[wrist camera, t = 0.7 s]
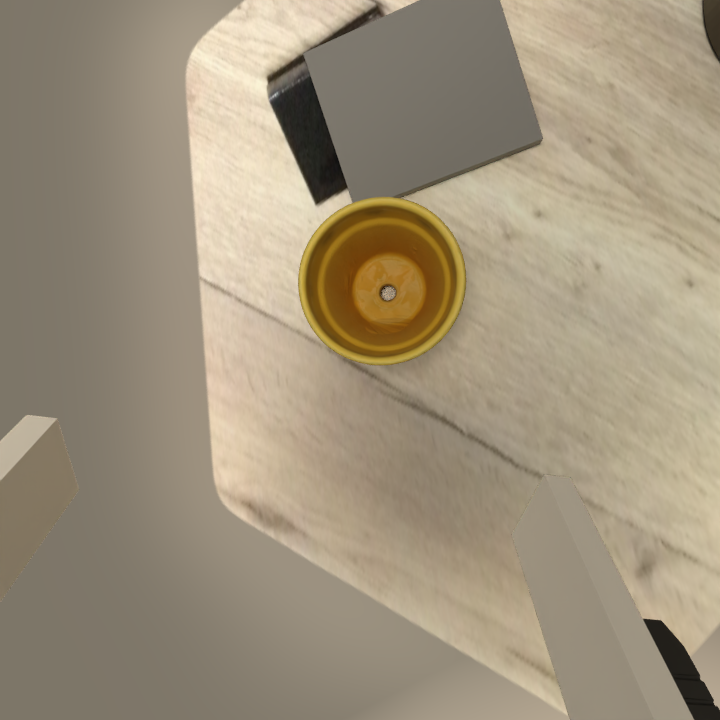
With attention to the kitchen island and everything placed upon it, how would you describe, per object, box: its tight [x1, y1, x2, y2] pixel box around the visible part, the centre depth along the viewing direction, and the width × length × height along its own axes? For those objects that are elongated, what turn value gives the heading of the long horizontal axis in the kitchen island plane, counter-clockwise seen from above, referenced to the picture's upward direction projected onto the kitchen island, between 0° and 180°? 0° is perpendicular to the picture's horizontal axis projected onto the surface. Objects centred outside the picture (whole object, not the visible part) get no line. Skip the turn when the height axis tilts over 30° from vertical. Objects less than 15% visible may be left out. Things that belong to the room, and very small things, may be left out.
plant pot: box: [298, 197, 466, 365], centre depth 31 cm, size 10×10×10 cm
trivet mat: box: [303, 0, 543, 203], centre depth 34 cm, size 15×13×1 cm
